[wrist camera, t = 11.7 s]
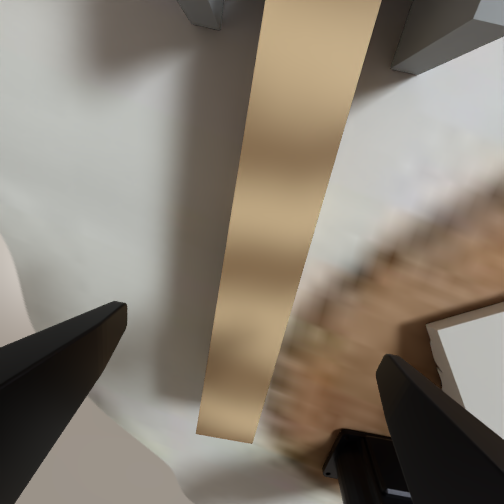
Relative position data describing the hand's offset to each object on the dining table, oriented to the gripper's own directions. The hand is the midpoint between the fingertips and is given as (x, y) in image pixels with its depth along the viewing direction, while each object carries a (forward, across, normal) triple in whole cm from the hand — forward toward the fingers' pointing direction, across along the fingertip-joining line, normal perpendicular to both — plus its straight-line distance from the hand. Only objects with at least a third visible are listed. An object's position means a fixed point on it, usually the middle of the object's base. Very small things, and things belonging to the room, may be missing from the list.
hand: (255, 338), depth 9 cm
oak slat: (+10, 0, 0) cm, 10 cm away
